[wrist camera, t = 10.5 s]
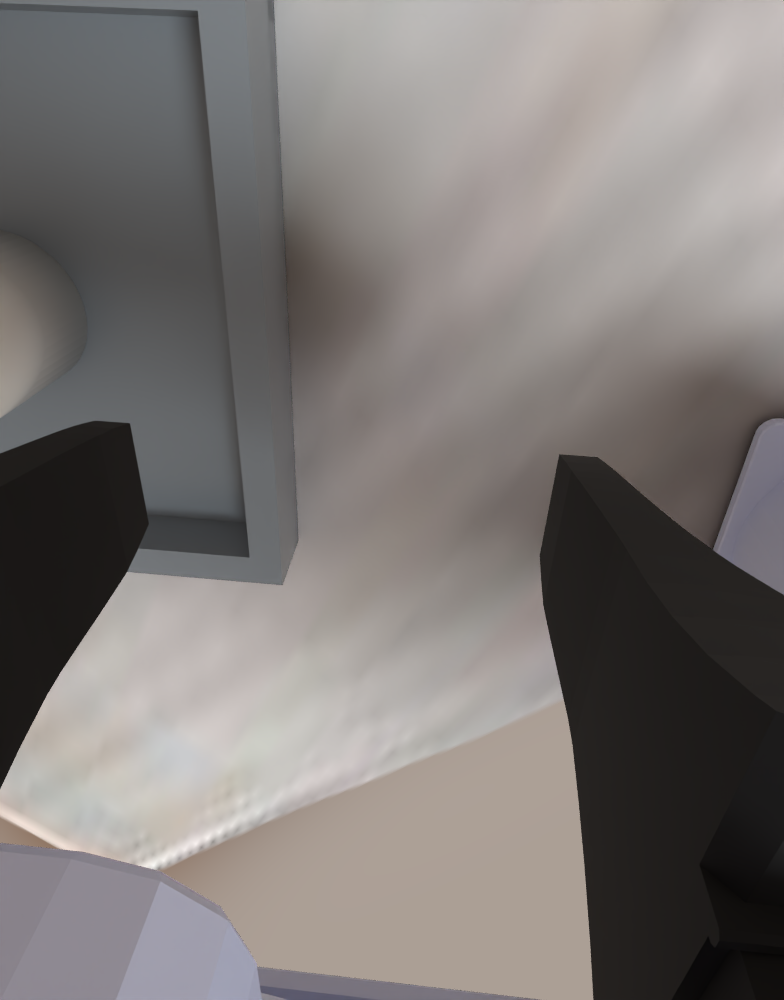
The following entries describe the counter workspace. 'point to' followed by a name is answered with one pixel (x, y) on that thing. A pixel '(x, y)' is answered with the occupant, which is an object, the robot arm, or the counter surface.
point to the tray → (163, 258)
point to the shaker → (35, 321)
